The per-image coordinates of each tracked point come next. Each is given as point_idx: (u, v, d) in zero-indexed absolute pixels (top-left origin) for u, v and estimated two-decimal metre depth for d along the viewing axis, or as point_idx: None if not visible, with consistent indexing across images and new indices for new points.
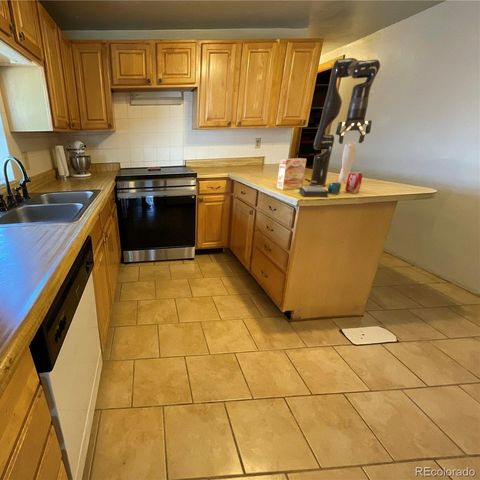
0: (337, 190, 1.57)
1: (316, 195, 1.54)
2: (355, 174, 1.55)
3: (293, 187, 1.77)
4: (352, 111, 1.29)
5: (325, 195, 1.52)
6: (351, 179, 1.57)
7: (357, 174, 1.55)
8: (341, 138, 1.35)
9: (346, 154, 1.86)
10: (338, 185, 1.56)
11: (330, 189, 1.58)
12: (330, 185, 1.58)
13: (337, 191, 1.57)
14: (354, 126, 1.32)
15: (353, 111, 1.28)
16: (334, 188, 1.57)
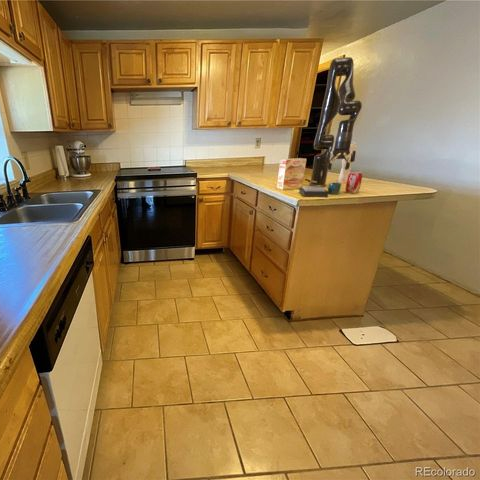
0: (337, 190, 1.57)
1: (316, 195, 1.54)
2: (355, 174, 1.55)
3: (293, 187, 1.77)
4: (338, 143, 1.49)
5: (325, 195, 1.52)
6: (351, 179, 1.57)
7: (357, 174, 1.55)
8: (330, 165, 1.55)
9: None
10: (338, 185, 1.56)
11: (330, 189, 1.58)
12: (330, 185, 1.58)
13: (337, 191, 1.57)
14: (341, 155, 1.52)
15: (339, 142, 1.48)
16: (334, 188, 1.57)
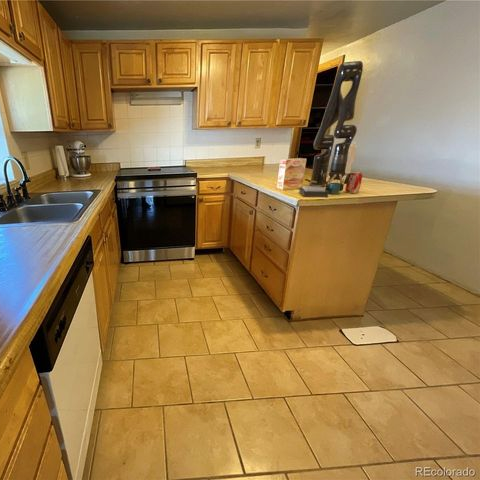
0: (337, 190, 1.57)
1: (316, 195, 1.54)
2: (355, 174, 1.55)
3: (293, 187, 1.77)
4: (334, 165, 1.53)
5: (325, 195, 1.52)
6: (351, 179, 1.57)
7: (357, 174, 1.55)
8: (327, 186, 1.59)
9: None
10: (338, 185, 1.56)
11: (330, 189, 1.58)
12: (330, 185, 1.58)
13: (337, 191, 1.57)
14: (336, 176, 1.56)
15: (335, 164, 1.53)
16: (334, 188, 1.57)
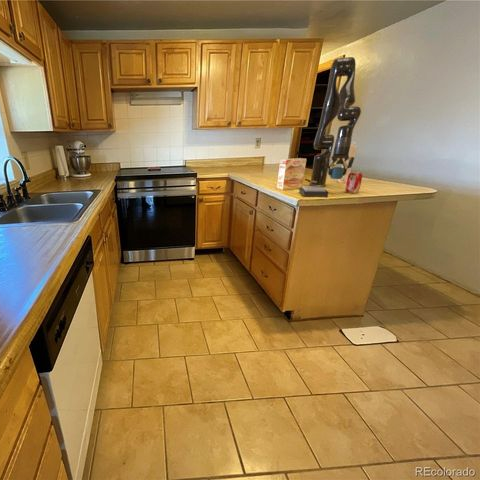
0: (340, 174, 1.54)
1: (316, 195, 1.54)
2: (355, 174, 1.55)
3: (293, 187, 1.77)
4: (338, 148, 1.50)
5: (325, 195, 1.52)
6: (351, 179, 1.57)
7: (357, 174, 1.55)
8: (330, 171, 1.56)
9: None
10: (341, 169, 1.53)
11: (333, 173, 1.55)
12: (333, 169, 1.55)
13: (340, 175, 1.54)
14: (340, 160, 1.53)
15: (338, 148, 1.49)
16: (337, 172, 1.54)
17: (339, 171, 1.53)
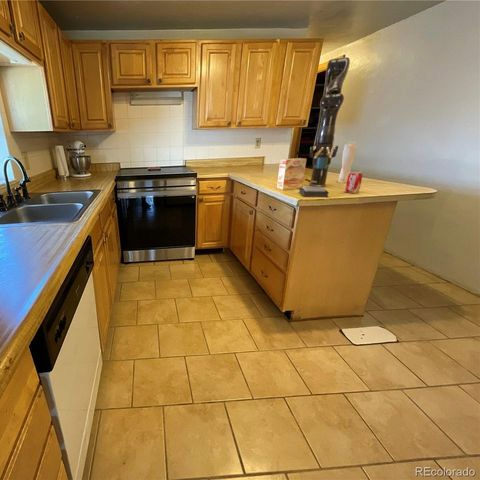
0: (324, 164, 1.51)
1: (316, 195, 1.54)
2: (355, 174, 1.55)
3: (293, 187, 1.77)
4: (321, 137, 1.47)
5: (325, 195, 1.52)
6: (351, 179, 1.57)
7: (357, 174, 1.55)
8: (314, 160, 1.53)
9: (346, 154, 1.86)
10: (325, 158, 1.50)
11: (317, 163, 1.52)
12: (317, 159, 1.52)
13: (324, 165, 1.51)
14: (324, 149, 1.50)
15: (322, 136, 1.47)
16: (321, 162, 1.51)
17: (323, 160, 1.50)
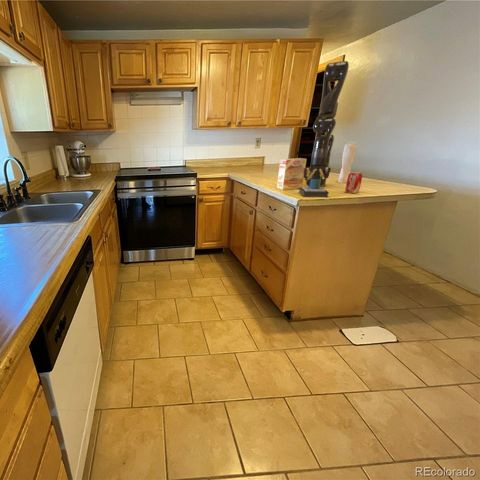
0: (317, 185, 1.55)
1: (316, 195, 1.54)
2: (355, 174, 1.55)
3: (293, 187, 1.77)
4: (314, 159, 1.51)
5: (325, 195, 1.52)
6: (351, 179, 1.57)
7: (357, 174, 1.55)
8: (308, 181, 1.58)
9: (346, 154, 1.86)
10: (318, 180, 1.54)
11: (310, 184, 1.57)
12: (310, 180, 1.56)
13: (317, 185, 1.55)
14: (317, 171, 1.54)
15: (315, 159, 1.51)
16: (314, 183, 1.55)
17: (316, 181, 1.54)
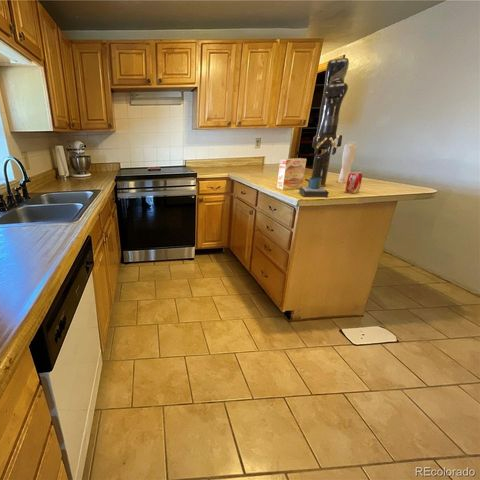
0: (317, 185, 1.55)
1: (316, 195, 1.54)
2: (355, 174, 1.55)
3: (293, 187, 1.77)
4: (325, 127, 1.46)
5: (325, 195, 1.52)
6: (351, 179, 1.57)
7: (357, 174, 1.55)
8: (316, 150, 1.53)
9: (346, 154, 1.86)
10: (318, 180, 1.54)
11: (310, 184, 1.57)
12: (310, 180, 1.56)
13: (317, 185, 1.55)
14: (327, 140, 1.50)
15: (325, 127, 1.46)
16: (314, 183, 1.55)
17: (316, 181, 1.54)
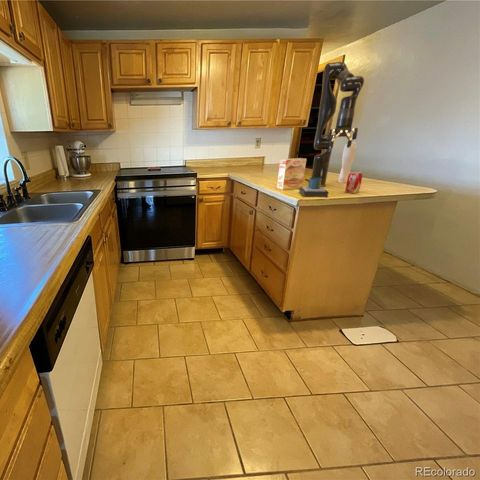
0: (317, 185, 1.55)
1: (316, 195, 1.54)
2: (355, 174, 1.55)
3: (293, 187, 1.77)
4: (340, 120, 1.48)
5: (325, 195, 1.52)
6: (351, 179, 1.57)
7: (357, 174, 1.55)
8: (331, 143, 1.54)
9: (346, 154, 1.86)
10: (318, 180, 1.54)
11: (310, 184, 1.57)
12: (310, 180, 1.56)
13: (317, 185, 1.55)
14: (342, 133, 1.51)
15: (341, 119, 1.48)
16: (314, 183, 1.55)
17: (316, 181, 1.54)
